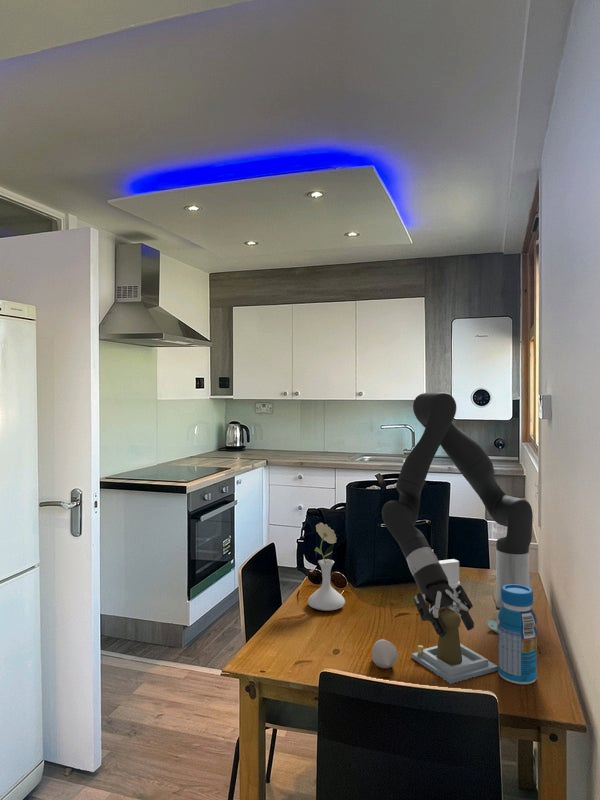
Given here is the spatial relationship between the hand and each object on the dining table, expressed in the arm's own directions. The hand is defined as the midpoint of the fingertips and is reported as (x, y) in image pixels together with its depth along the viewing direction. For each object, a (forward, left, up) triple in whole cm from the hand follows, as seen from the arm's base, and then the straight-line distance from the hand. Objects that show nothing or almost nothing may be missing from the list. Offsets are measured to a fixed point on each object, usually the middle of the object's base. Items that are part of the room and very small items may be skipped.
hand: (457, 632), depth 132 cm
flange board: (0, -1, -8) cm, 8 cm away
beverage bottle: (-9, +10, -8) cm, 16 cm away
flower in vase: (+10, -47, -8) cm, 49 cm away
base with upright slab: (-26, -35, -8) cm, 45 cm away
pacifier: (-24, -10, -9) cm, 28 cm away
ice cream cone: (+16, -6, -8) cm, 19 cm away
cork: (+1, -2, -7) cm, 8 cm away
